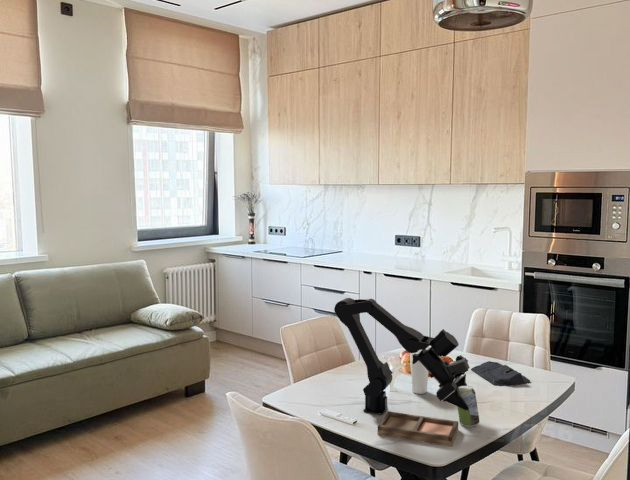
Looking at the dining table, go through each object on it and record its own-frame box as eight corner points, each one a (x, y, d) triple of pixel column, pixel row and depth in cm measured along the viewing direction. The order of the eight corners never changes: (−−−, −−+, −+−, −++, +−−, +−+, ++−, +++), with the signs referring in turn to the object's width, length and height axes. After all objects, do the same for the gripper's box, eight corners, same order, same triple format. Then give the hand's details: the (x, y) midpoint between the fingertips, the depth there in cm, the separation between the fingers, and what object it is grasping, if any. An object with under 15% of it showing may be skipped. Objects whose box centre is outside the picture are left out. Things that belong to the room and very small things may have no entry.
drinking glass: (424, 396, 204) (425, 355, 203) (407, 392, 208) (407, 352, 206) (431, 390, 210) (432, 350, 209) (414, 387, 214) (414, 347, 212)
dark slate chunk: (501, 367, 237) (501, 355, 237) (533, 385, 216) (533, 372, 216) (467, 370, 234) (467, 358, 234) (496, 388, 213) (496, 376, 212)
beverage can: (480, 429, 176) (480, 391, 175) (455, 427, 178) (455, 390, 177) (478, 421, 183) (479, 384, 181) (454, 419, 184) (455, 383, 183)
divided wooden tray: (377, 434, 174) (377, 425, 173) (388, 419, 185) (388, 411, 184) (451, 446, 165) (451, 437, 165) (458, 430, 176) (458, 421, 176)
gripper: (447, 358, 171) (485, 399, 168) (459, 342, 188) (493, 379, 185) (421, 380, 175) (457, 421, 172) (435, 362, 192) (468, 399, 189)
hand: (470, 404), depth 179 cm, fingers open, 9 cm apart
